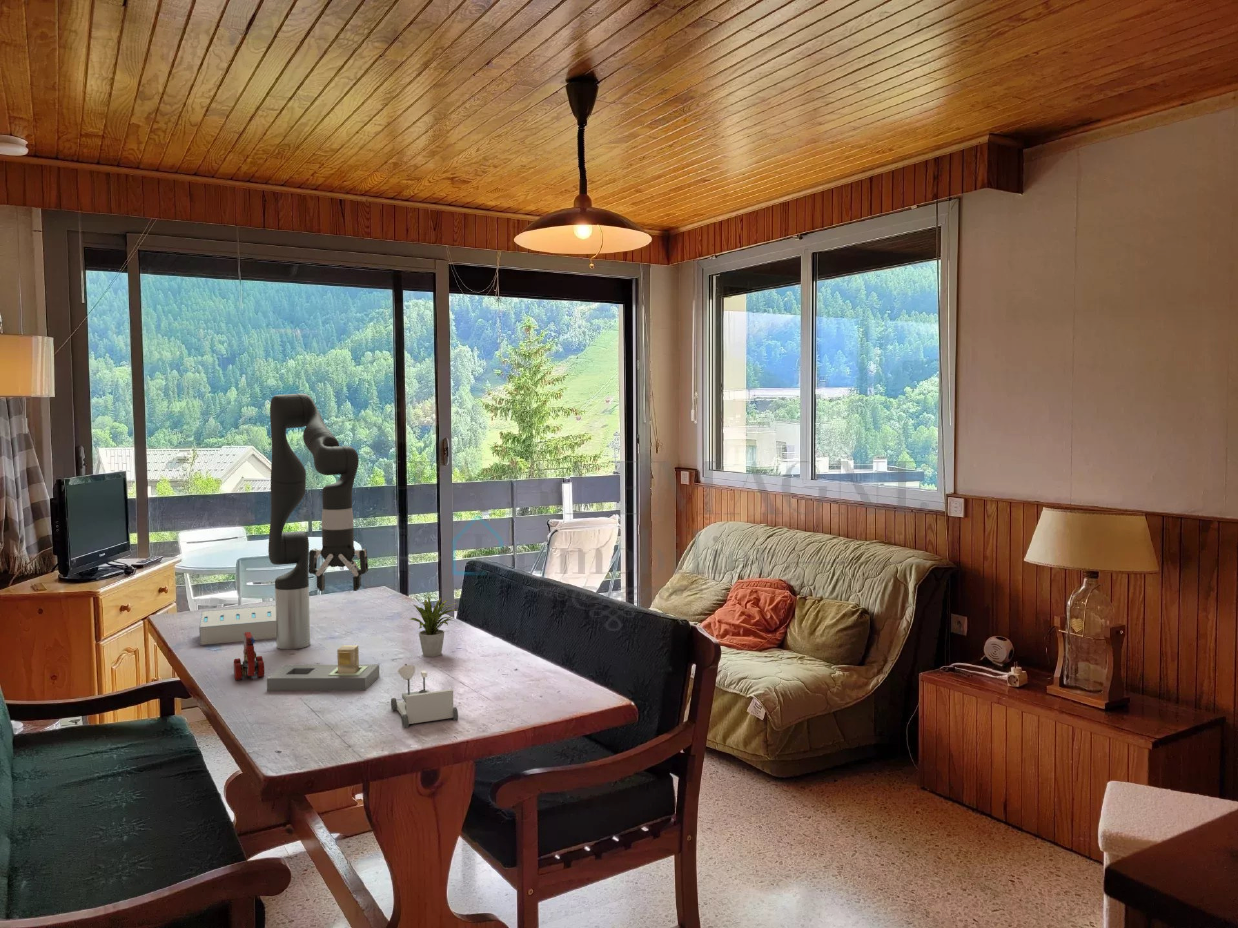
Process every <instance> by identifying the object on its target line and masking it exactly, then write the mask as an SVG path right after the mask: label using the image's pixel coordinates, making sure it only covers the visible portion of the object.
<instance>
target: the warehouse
mask: <svg viewBox="0 0 1238 928" xmlns="http://www.w3.org/2000/svg"><path fill="white" fill-rule="evenodd" d="M199 621H200V623H199V645H200V646H204V645H212V644H213V645H215V644H226V643H236V642H237V643H238V642H244V633H245V632H250V633H251V635H252V637H253V638H254V640H255V641H256V640H257V641H258V640H269V639H276V604H274V605H264V606H252V607H239V608H238V607H237V608H226V609H215V610H202V611H201V613H200V620H199Z"/></svg>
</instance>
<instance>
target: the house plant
mask: <svg viewBox="0 0 1238 928" xmlns="http://www.w3.org/2000/svg"><path fill="white" fill-rule="evenodd" d="M441 600H442V597H439V599H438V600H437V602H436V603H435V605H434V606H432V602H431V600H430V597H429V596H427V599H424V601H423V603H421V602H420V603H419V604H420V605H423V606H424V608H423V607H419V606H417V605H415V604H413V603H412V605H413V606H414V607H415V608H414V610H415V611H416V612H417V613H418V614H419V615H420V617H421V618H422V620H423V622H422V621H421V620H420V619H418V618H417V617H411V618H408V619H409V620H411V621H413V622H418V623H419V626H418V627H419V628H418V629H419V630H420V629H421V628H424V630H421V631H419V632H418V636H419V643H420V646H421V653H422V656H423V657H428V658H429V657H430V658H431V657H438V656H441V655H442V652H443V645H444V637H445V632H446V631H445V630H443V629H440V628H441V626H442V625H443V624H446V626H449V623H448V622H450V621H454V619H453V618H452V617H453V615H451V616H443V615H445V614H448V613H451V612H454V611H458V609H459V608H458V609H450V608H451V606H452V605H457V604H458V602H457V603H456V602H455V603H452V604H449V605H446V606H445V604H446V602H447V601H448V599H446V600H444V601H443V602H442V603H440V602H441ZM432 607H433V609H432ZM442 616H443V617H442Z"/></svg>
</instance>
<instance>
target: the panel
mask: <svg viewBox="0 0 1238 928" xmlns="http://www.w3.org/2000/svg"><path fill="white" fill-rule="evenodd" d="M379 677H380V664H359V671H358V672H357V673H351V674H338V664H285V665H283V666H282V667H280V668H279V669H278V670H277V671H275V672H274V673H272V674H271V675H269V676H268V677H266V691H366V690H367V689H369V687H370V686H372V684H373V683H375V681H376V680H377V679H379Z"/></svg>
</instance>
